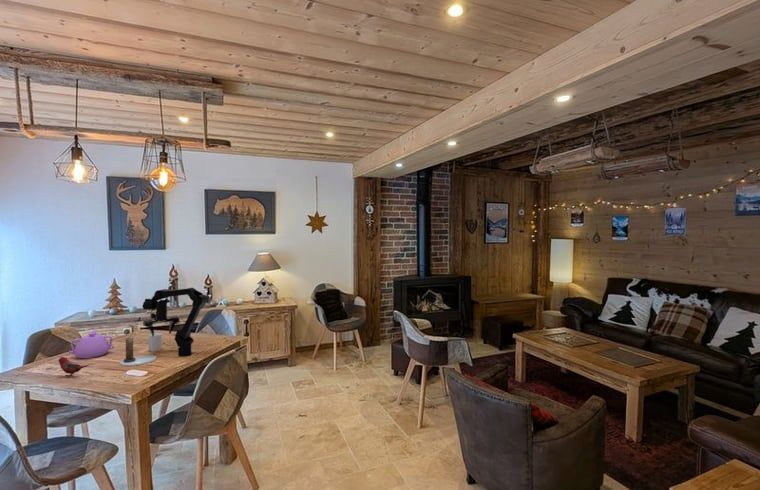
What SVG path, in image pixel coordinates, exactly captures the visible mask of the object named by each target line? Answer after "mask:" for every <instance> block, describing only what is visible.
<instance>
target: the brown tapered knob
mask: <svg viewBox="0 0 760 490" xmlns="http://www.w3.org/2000/svg"><path fill="white" fill-rule="evenodd" d="M133 356H134V337H127V338H126V339H125V358H126V359H125V358H123V359H124V363H129V362H134V361H135V358H133Z"/></svg>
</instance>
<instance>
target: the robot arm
mask: <svg viewBox="0 0 760 490" xmlns="http://www.w3.org/2000/svg"><path fill="white" fill-rule="evenodd" d="M185 295H187V296H188V298H189V299H190V300H191V301H192V303H191V305H192V307H191V310H190V312H189V315H188V317H187V318H186V321H185V322H184V324H183V326H182V327H181V328H179V329H178V330H176V333H175V334H174V341H175V343H176V345H177V349H178V351H177V352H178V353H177V354H178V357H180V358H181V357H187V356H188V357H189V356H191V355H192V354H193V352H192V344H193V343H194V341H195V340H194V339H193V337H192V336H191V334H192V332H191V331H192V330H191V329H192V328H193V326H194V323H195V321H196V320H197V318H198V316H199V313H200V311H201V310H202V309H203V307H205V305H207V303H208V301H209V298H208V296H207V295H206V294H205V293H203V292H201V291H198V290H197V289H196V288H194V287H188V288H179V289H178V288H177V289H167V288H164V289H157V290H155V291H154V294H153V295H152V298H145V299H144V301H143V303H142V309H143V310H146V311H150V310H151V311H153V310H154V311H155V313H154V312H153V313H150V319H145V320H143V321H142V325H143V326H144V327H146V328H148V329H149V331H150V334H152V336H154V333H155V331H154V325H155V324H162V323H168V322H169V330H168V333H169V334H170V335H171V333H172V331H173V328H174V327H175V325H176V324H178V323H179V322H180V318H179V317H178V316H170V317H169V318H168V303H171V300H169V298H170V297H178V296H185Z"/></svg>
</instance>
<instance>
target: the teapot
mask: <svg viewBox="0 0 760 490" xmlns="http://www.w3.org/2000/svg"><path fill="white" fill-rule="evenodd" d="M107 338H109V342H108V340H107ZM76 341H78V342H77V343H76V345H75V347H74V342H76ZM112 343H113V336H111V335H103V334H97V329H95V328H94V329H93V330H92V332H90V333H88V335H85V336H82V337H81V338H75V339H72V340H71V342H70V348H71V349H69V351H68V354H69V355H74V356H75V357H76V358H79V359H90V358H96V357H98V358H99V357H102V356H103V355H105V354H107V353H108V351H109V350H114V349H115V345H114V344H112Z"/></svg>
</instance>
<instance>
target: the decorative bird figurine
mask: <svg viewBox="0 0 760 490" xmlns="http://www.w3.org/2000/svg"><path fill="white" fill-rule="evenodd" d="M57 361H58V364H59V366H60V368H61V370H62V372H64V373H66V374H65V376H67V377H75V375H74V374H75V373H78V372H79V371H81V370H82V369H84V368H87V367H90V365H89V364H88V365H87V364H86V365H80V364H78V363H76V362H73V361H71V360H69V359H68V358H67V357H65V356H61V357H59V359H58V360H57Z"/></svg>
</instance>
